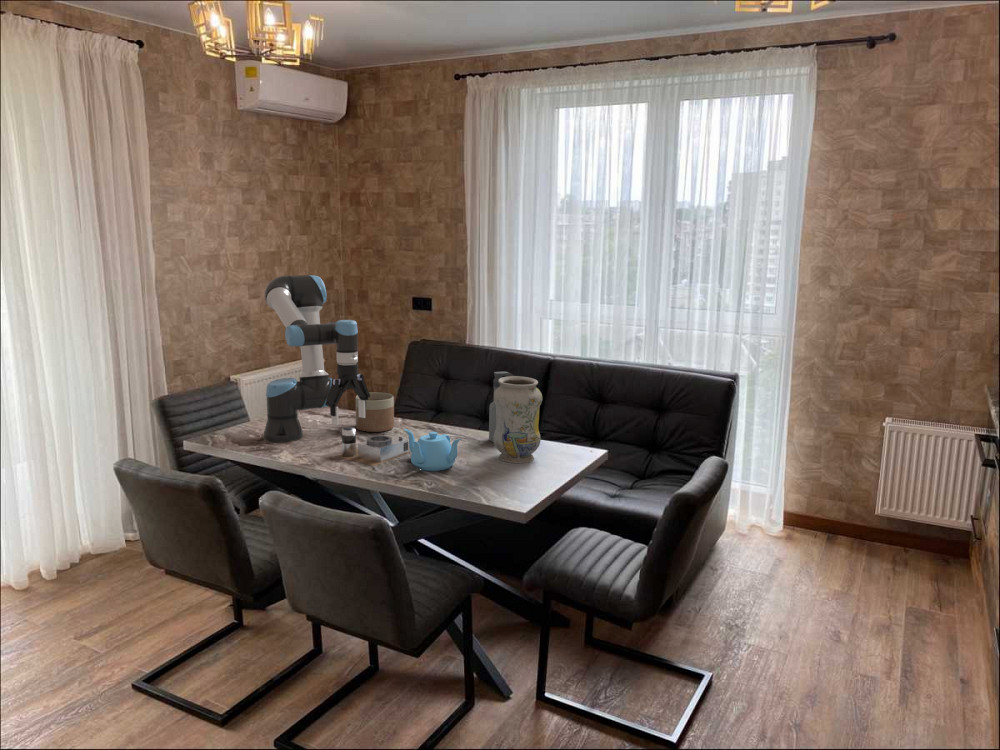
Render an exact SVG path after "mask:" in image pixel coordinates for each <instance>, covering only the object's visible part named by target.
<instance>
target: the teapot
mask: <svg viewBox="0 0 1000 750" xmlns="http://www.w3.org/2000/svg"><path fill="white" fill-rule="evenodd" d="M404 431H405V433H407V436H408V449H409V451H410V454H411V455H410V461H411V464H412V465H413V466H414V467H417V468H418V470H420V469H421V470H420V471H425V472H426V471H428V472H440V470H441V471H445V470H447V469H450V468H451V467H452V466H453V465H454V464H455V462H456V459H457V457H458V444H459V442H460V441H461V438H457V439H454V440H453V441H452V443H451V437H450V435H448V434H445V433H444V434H438V432H436V431H429V432H428V434H425V435H422V436H420V437H419V439H418V440H417V441H416V440H415V436H414V433H413V432H412V431H411V430H410V429H407V428H404Z"/></svg>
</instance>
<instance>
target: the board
mask: <svg viewBox="0 0 1000 750" xmlns="http://www.w3.org/2000/svg"><path fill="white" fill-rule="evenodd" d="M408 454H411V451H410V452H409V451H408V453H405V454H402V455H399V456H397V457H394V458H391V459H388V460H385V461H383V462H378V461H374V460H370V459H366V458H362V457H358V448H356V456H353V457H344V456H342V453H340V454H338V455H335V457H337V458H341V459H344V460H349V461H353V462H357V463H360V464H365V465H369V466H372V467H375V466H378V465H381V464H383V463H386V462H388V461H392V460H394V459H397V458H400V457H403V456H406V455H408Z"/></svg>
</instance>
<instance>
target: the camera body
mask: <svg viewBox="0 0 1000 750" xmlns="http://www.w3.org/2000/svg"><path fill="white" fill-rule="evenodd" d="M357 449H358V457H362V458H366V459H370V460H374V461H378V462H383V461H385V460H388V459H391V458H394V457H397V456H399V455H402V454H405V453H408V452H409V438H408V439H407V438H405V437H404V436H394V435H389V434H384V435H382V434H381V435H379V434H378V435H371V436H368V437H367V438H366V440H364V441H362V442H358V443H357Z"/></svg>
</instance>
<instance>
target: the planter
mask: <svg viewBox="0 0 1000 750" xmlns="http://www.w3.org/2000/svg"><path fill="white" fill-rule="evenodd" d="M369 394H370V397H368V400H366V408H365V418H361V417H359V410H358V400H361V399H360V398H359V397H358V395H357V394H356V396H355V428H356V429H357V430H359V431H362V432H365V431H366V432H365V433H381V432H382V433H383V432H387V431H390V430H391V429H393V428H394V427H395V407H394V406H395V399H394V398H395V397H394V395H393V394H391V393H387V392H369Z"/></svg>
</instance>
